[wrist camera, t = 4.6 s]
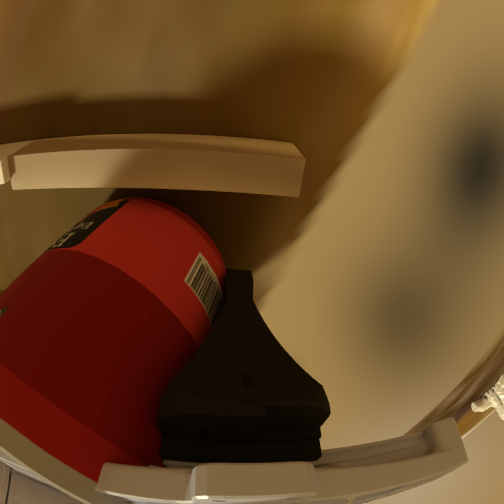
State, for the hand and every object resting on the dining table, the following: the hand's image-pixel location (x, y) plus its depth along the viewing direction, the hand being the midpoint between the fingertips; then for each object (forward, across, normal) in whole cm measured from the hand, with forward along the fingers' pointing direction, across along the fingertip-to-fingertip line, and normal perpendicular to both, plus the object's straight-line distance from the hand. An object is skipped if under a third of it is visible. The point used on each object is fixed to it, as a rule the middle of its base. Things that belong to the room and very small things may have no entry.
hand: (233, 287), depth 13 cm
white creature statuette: (+4, -46, +24) cm, 52 cm away
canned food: (+2, +4, 0) cm, 4 cm away
